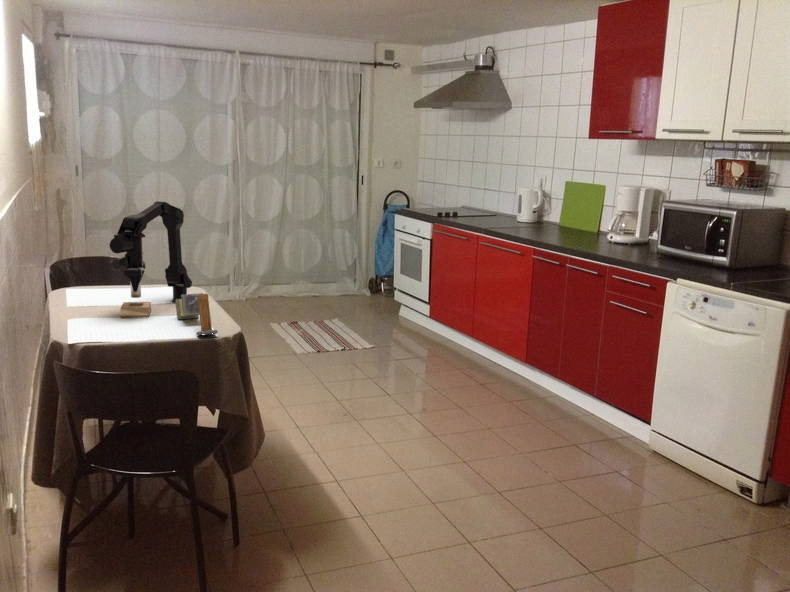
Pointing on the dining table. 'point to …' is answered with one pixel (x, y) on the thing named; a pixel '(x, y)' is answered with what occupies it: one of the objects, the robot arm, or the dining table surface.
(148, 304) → the bore block
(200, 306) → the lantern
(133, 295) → the pin
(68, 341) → the dining table surface
